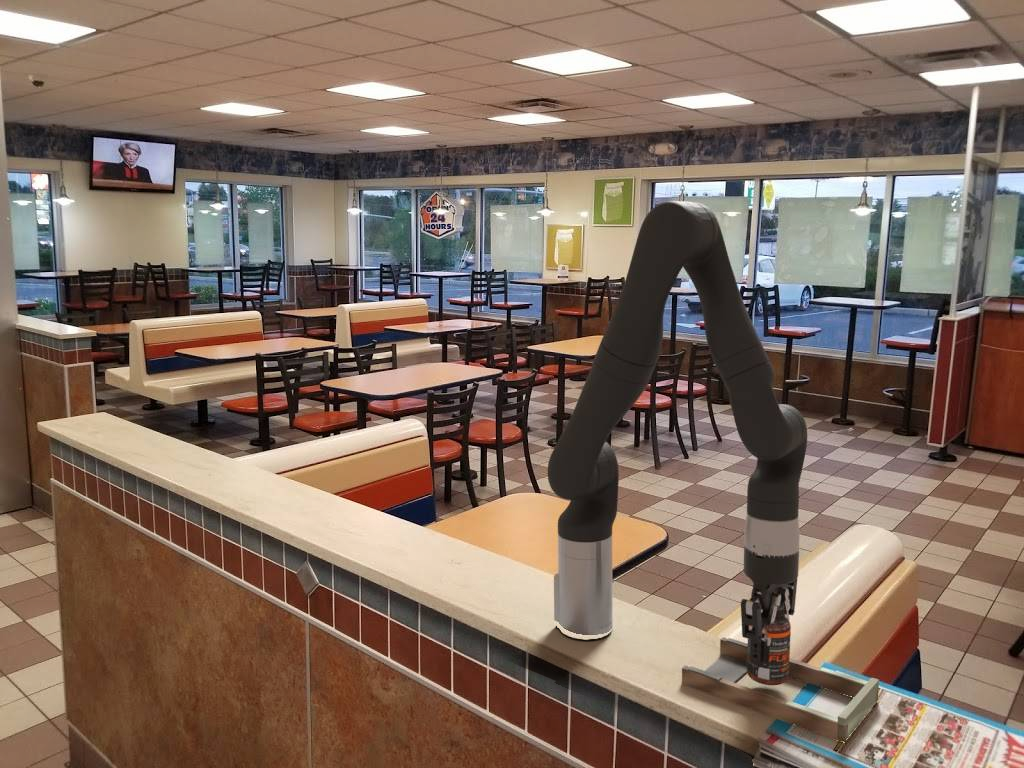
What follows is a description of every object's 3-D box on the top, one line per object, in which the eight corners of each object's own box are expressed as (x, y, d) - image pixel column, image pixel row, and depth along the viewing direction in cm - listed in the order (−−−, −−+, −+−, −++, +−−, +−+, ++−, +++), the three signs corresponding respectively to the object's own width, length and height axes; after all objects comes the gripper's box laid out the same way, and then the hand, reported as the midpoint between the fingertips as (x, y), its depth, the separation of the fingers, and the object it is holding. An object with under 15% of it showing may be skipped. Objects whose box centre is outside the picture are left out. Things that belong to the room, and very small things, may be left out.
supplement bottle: (772, 692, 115) (774, 616, 113) (737, 675, 120) (739, 602, 118) (797, 678, 119) (800, 605, 117) (763, 663, 123) (765, 592, 122)
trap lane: (681, 683, 122) (682, 661, 121) (723, 651, 131) (723, 631, 131) (844, 743, 106) (845, 718, 105) (877, 702, 115) (878, 679, 115)
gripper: (768, 526, 124) (765, 630, 127) (723, 552, 113) (721, 665, 116) (817, 536, 119) (813, 644, 122) (775, 565, 108) (771, 682, 111)
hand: (768, 654), depth 119 cm, fingers closed on supplement bottle, 6 cm apart
